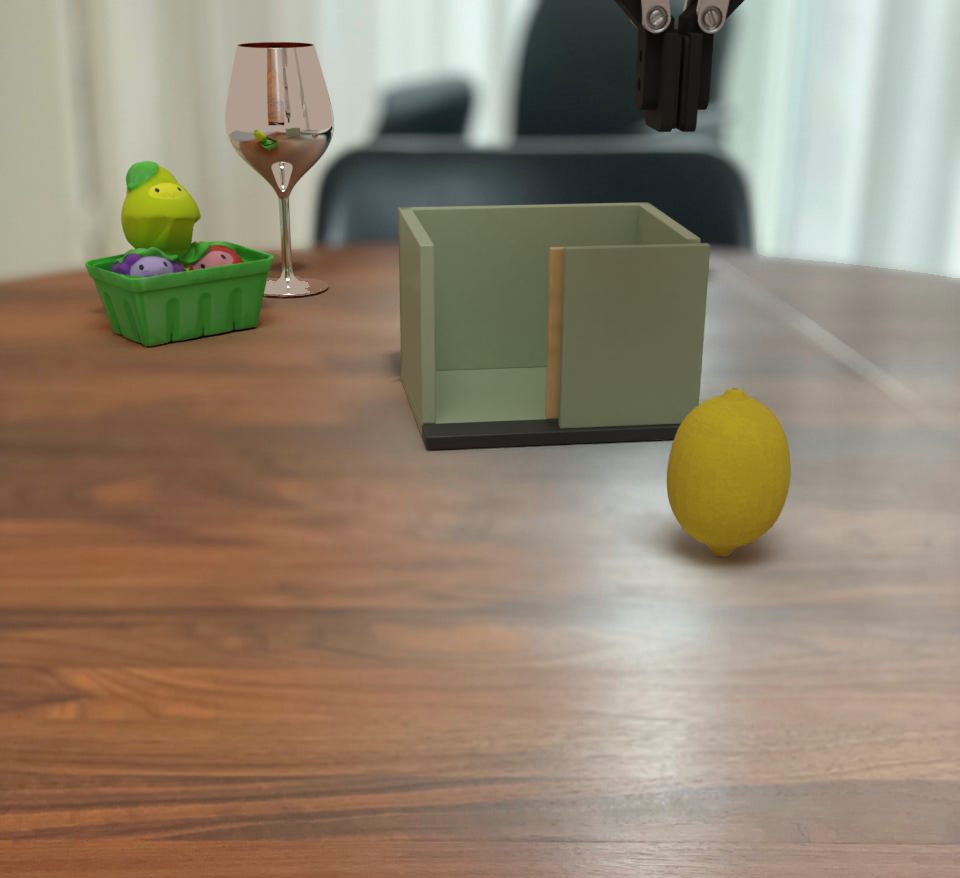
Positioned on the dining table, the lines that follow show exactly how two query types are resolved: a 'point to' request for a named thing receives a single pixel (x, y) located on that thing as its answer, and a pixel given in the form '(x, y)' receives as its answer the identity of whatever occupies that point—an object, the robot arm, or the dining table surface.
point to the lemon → (728, 471)
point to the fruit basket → (175, 269)
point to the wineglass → (279, 126)
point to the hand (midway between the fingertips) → (669, 127)
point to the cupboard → (523, 323)
